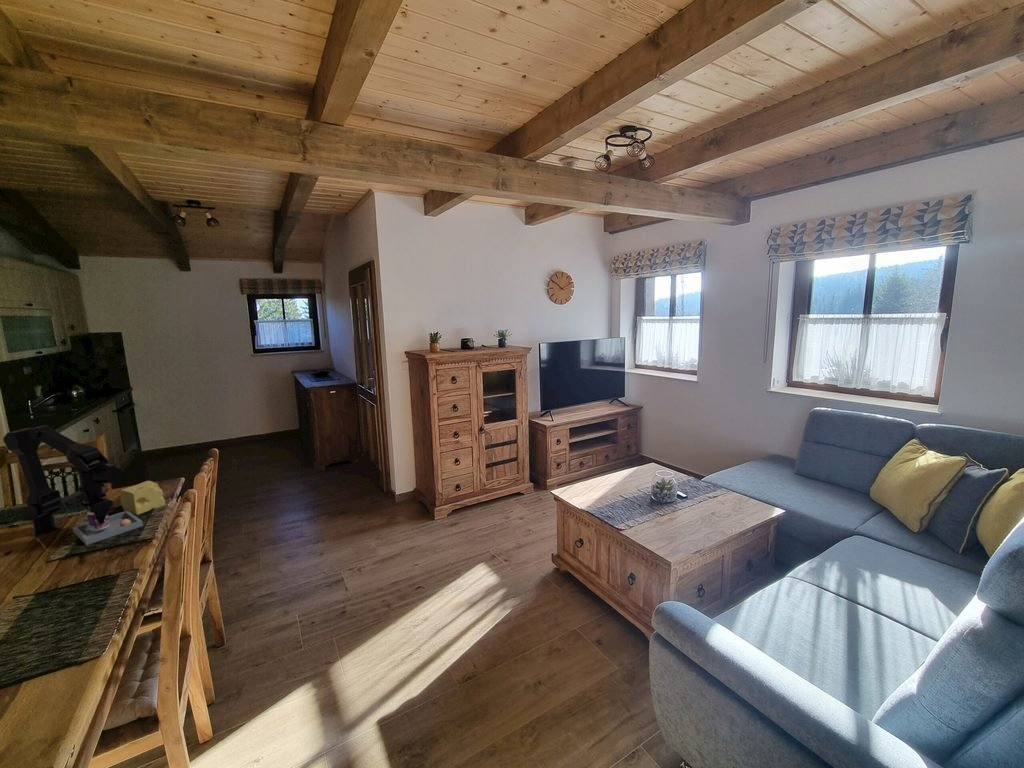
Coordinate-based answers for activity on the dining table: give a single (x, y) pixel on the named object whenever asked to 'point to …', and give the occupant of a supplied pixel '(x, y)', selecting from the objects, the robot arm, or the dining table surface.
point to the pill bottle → (96, 522)
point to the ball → (125, 522)
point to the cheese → (142, 497)
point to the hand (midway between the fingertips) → (98, 521)
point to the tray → (110, 531)
